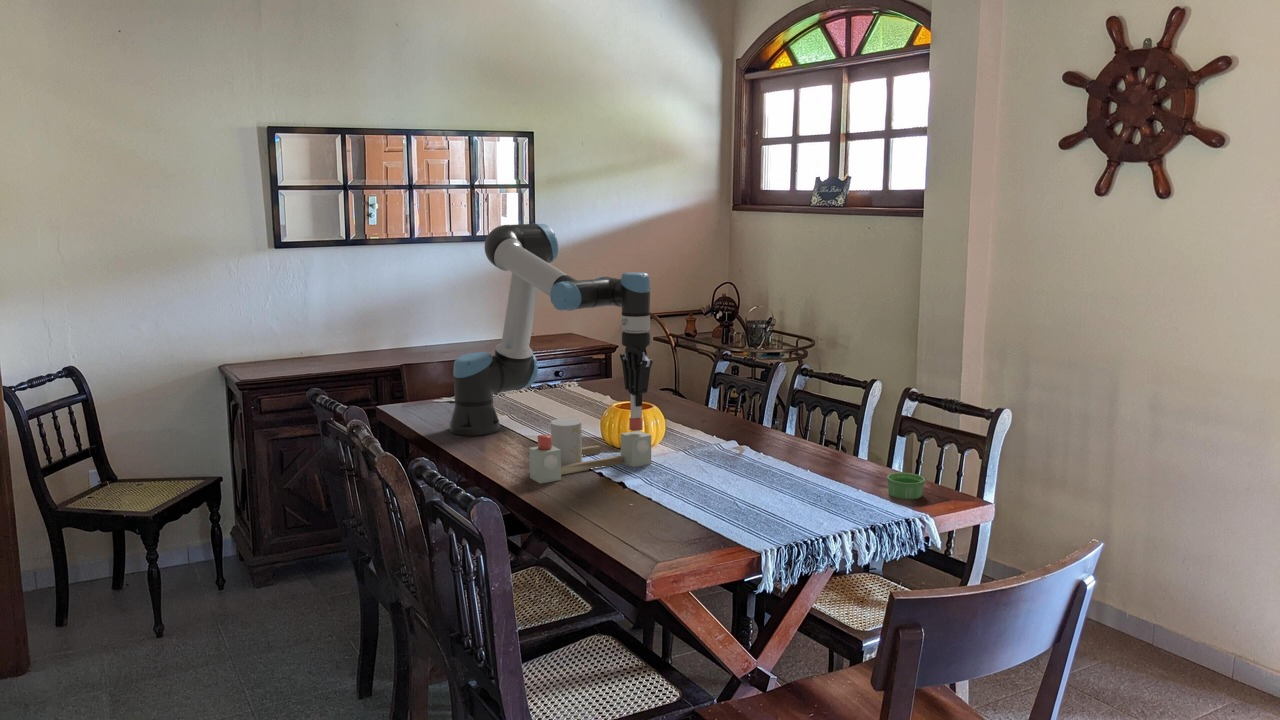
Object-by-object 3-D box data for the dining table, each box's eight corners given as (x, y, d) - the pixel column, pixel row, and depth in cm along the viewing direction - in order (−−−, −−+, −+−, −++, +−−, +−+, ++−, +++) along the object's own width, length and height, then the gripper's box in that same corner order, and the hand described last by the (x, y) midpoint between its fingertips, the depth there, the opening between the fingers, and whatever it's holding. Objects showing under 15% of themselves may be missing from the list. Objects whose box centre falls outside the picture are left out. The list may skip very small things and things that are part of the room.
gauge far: (626, 428, 272) (626, 417, 271) (638, 426, 274) (638, 416, 273) (633, 431, 269) (633, 420, 268) (645, 429, 271) (645, 418, 270)
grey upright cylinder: (577, 470, 266) (576, 426, 264) (548, 468, 268) (547, 424, 266) (585, 461, 274) (584, 419, 272) (556, 460, 276) (555, 417, 273)
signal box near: (529, 477, 260) (529, 447, 258) (550, 474, 263) (550, 444, 261) (540, 483, 254) (540, 453, 253) (561, 480, 257) (561, 449, 256)
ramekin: (882, 489, 250) (883, 472, 250) (919, 489, 250) (920, 472, 249) (890, 500, 242) (891, 483, 241) (928, 500, 241) (929, 483, 240)
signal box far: (620, 461, 274) (620, 433, 272) (639, 458, 277) (639, 430, 276) (633, 467, 269) (632, 438, 267) (651, 464, 272) (651, 435, 270)
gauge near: (535, 447, 258) (535, 435, 257) (547, 445, 260) (547, 433, 259) (541, 450, 255) (541, 438, 254) (554, 448, 257) (554, 436, 256)
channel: (537, 462, 274) (536, 455, 273) (597, 452, 284) (597, 445, 283) (560, 474, 262) (560, 467, 262) (623, 463, 272) (623, 456, 272)
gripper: (611, 329, 270) (612, 414, 274) (636, 335, 259) (637, 424, 263) (635, 326, 274) (635, 411, 278) (661, 332, 263) (661, 420, 267)
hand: (636, 417), depth 271 cm, fingers closed
